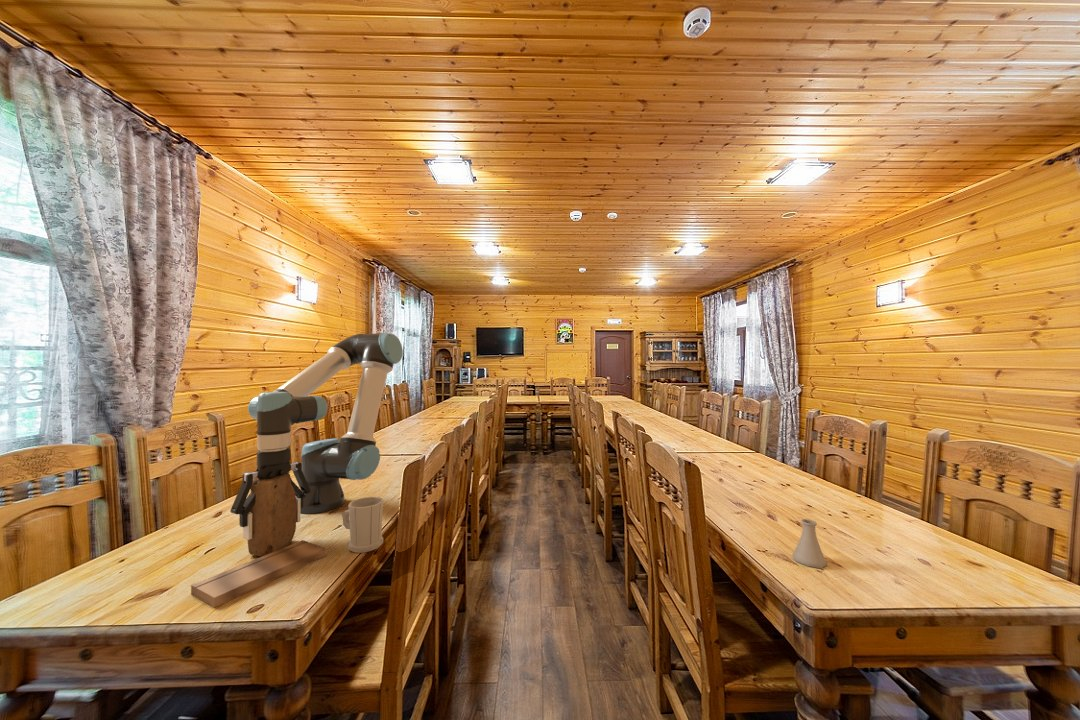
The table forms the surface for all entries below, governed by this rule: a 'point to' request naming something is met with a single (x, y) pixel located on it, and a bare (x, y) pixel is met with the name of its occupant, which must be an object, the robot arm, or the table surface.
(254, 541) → the brown pitted rock
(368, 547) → the cup
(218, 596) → the board
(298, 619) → the table surface
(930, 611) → the table surface
